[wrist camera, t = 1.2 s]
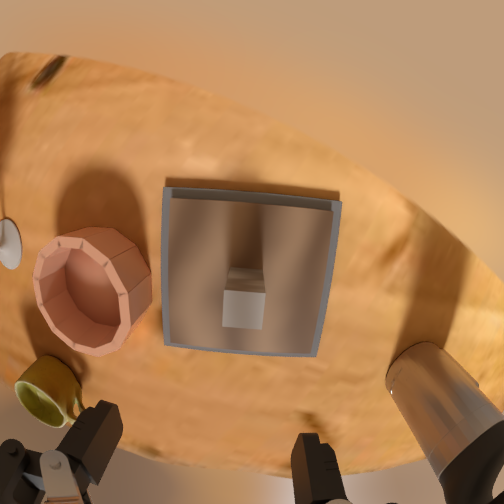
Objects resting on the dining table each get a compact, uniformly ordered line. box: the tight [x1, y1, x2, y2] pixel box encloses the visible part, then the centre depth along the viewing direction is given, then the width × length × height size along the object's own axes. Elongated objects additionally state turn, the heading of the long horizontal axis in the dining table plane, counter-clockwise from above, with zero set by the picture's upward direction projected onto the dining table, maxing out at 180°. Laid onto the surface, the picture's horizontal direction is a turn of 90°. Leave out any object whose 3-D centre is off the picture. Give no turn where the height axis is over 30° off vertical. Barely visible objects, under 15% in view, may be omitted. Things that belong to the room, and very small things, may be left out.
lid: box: [168, 198, 334, 354], centre depth 23 cm, size 15×15×7 cm
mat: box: [161, 187, 342, 357], centre depth 27 cm, size 17×17×1 cm
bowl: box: [33, 227, 152, 357], centre depth 25 cm, size 12×12×6 cm
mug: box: [15, 355, 85, 428], centre depth 28 cm, size 12×10×10 cm
